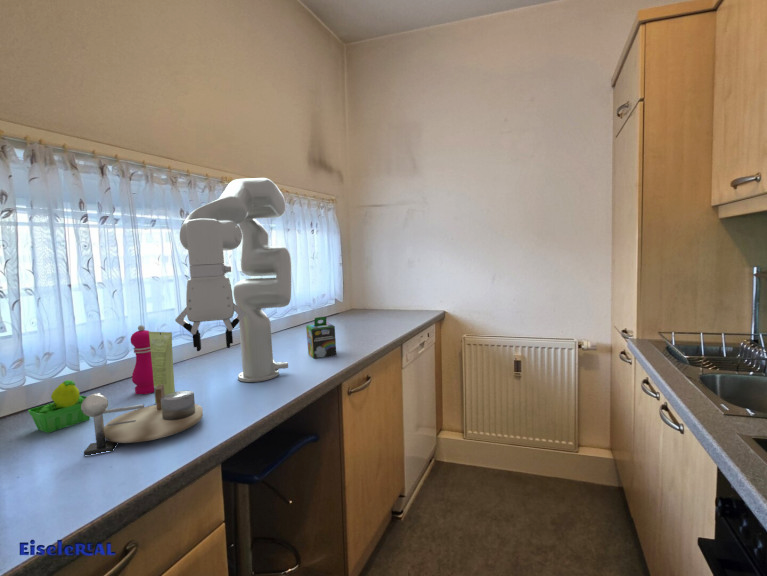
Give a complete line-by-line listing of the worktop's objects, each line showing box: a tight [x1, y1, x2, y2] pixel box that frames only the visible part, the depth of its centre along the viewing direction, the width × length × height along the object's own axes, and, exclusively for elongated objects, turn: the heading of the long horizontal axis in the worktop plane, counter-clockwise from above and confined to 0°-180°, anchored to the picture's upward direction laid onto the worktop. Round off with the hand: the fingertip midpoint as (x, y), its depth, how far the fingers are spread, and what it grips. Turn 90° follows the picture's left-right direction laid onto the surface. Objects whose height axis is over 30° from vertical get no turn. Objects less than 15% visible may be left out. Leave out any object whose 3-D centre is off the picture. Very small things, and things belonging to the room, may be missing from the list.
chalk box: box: [305, 316, 337, 360], centre depth 161 cm, size 9×9×15 cm
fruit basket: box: [27, 379, 91, 434], centre depth 102 cm, size 11×9×11 cm
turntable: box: [104, 384, 204, 444], centre depth 97 cm, size 20×20×6 cm
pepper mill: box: [130, 324, 154, 395], centre depth 125 cm, size 7×7×20 cm
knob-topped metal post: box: [81, 392, 145, 457], centre depth 88 cm, size 11×4×12 cm, turn 109°
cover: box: [161, 390, 196, 420], centre depth 99 cm, size 7×7×5 cm
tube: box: [149, 331, 176, 405], centre depth 115 cm, size 6×5×20 cm
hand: (213, 347), depth 100 cm, fingers open, 5 cm apart
